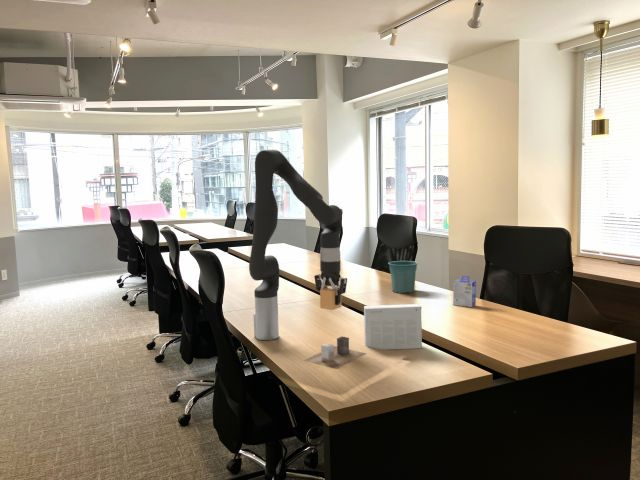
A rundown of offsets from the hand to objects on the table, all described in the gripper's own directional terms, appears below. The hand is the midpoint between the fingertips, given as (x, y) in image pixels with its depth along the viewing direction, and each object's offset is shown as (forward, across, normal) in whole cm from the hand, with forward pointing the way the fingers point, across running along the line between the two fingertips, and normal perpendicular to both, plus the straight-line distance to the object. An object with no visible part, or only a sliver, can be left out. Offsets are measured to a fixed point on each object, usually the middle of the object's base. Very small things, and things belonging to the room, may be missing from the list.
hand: (330, 303), depth 190 cm
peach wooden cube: (+2, 0, 0) cm, 2 cm away
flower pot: (+17, -24, +100) cm, 104 cm away
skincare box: (+17, +19, +13) cm, 29 cm away
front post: (+15, +10, -16) cm, 24 cm away
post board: (+17, +10, -11) cm, 23 cm away
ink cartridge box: (+17, +16, +88) cm, 91 cm away
